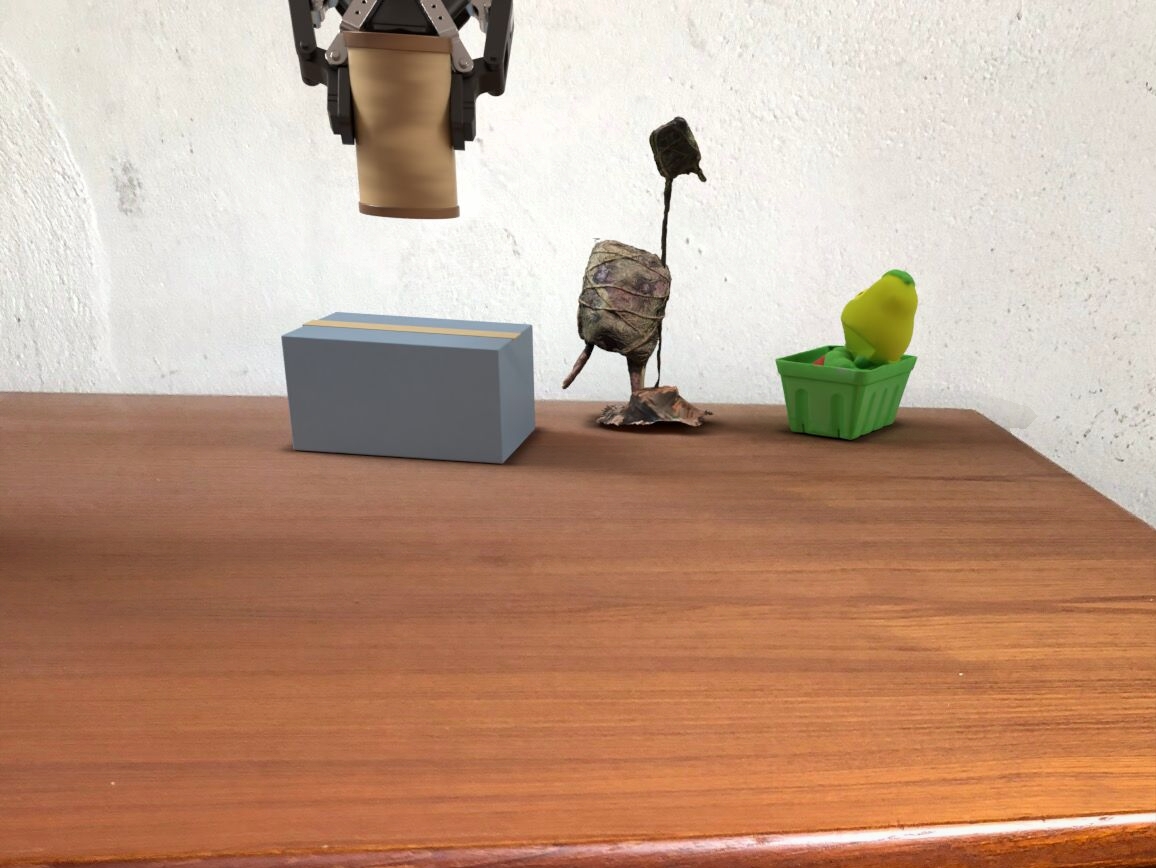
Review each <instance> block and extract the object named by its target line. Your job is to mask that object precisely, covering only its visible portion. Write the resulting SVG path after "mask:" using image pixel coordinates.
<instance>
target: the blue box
mask: <svg viewBox="0 0 1156 868" xmlns="http://www.w3.org/2000/svg"><path fill="white" fill-rule="evenodd" d="M533 330H534V329H533V325H532V324H529V323H513V322H500V321H499V322H497V321H481V320H468V319H467V320H465V319H453V318H452V319H451V318H437V317H421V316H406V315H405V316H403V315H389V314H374V313H373V314H372V313H362V312H361V313H358V312H345V311H344V312H343V311H334V312H333V313H330V314H328V315H325V316H323V317H321V318H319V319H312V320H310V321H306V322H305V323H302V326H301V327H298V328H296V329H293V330H291V331H288V332H286V333H284V334H282V335H280V338H281V339H280V340H281V348H282V356H283V367H284V375H285V376H284V377H285V385H286V393H287V401H288V403H287V404H288V413H289V422H290V430H291V441H292V448H293V449H292V450H294V451H303V452H315V453H317V452H318V453H333V454H348V455H364V456H376V457H377V456H379V457H393V458H394V457H396V458H408V459H409V458H410V459H424V460H425V459H426V460H438V461H439V460H441V461H453V462H456V461H457V462H467V463H469V462H470V463H485V464H499V465H500V464H501V465H502V464H504V463H505V462H506V461H507V460H508V458H510V457H511V455H512V454H513V453H514V452H515V451H517V449H518V448H519V447H520V446H521V445H522V444H523V443H524V441H525V440H526V439H528V437H529V436H530V435H531V434H532V433H533V432H534V431H535V429H536V408H535V407H536V406H535V405H536V404H535V403H536V401H535V367H534V339H533V338H534V335H533V332H534V331H533Z"/></svg>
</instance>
